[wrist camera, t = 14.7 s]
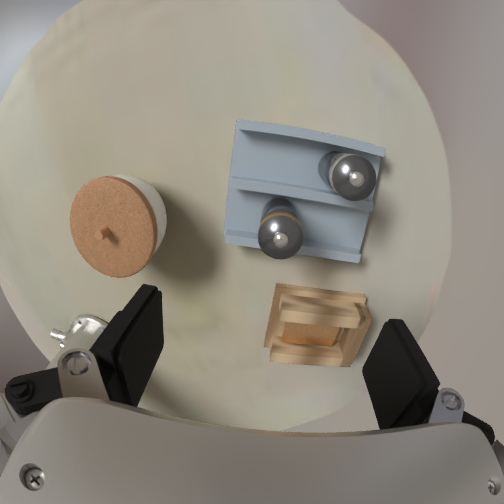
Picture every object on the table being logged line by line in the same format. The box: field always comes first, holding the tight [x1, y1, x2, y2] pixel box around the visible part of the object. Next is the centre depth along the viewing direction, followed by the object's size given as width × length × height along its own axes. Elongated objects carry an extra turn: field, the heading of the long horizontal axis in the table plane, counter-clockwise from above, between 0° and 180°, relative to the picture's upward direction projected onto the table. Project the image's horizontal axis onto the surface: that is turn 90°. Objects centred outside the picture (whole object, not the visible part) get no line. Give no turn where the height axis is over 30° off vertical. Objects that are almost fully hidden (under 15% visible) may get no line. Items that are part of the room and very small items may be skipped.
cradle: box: [264, 283, 372, 367], centre depth 34 cm, size 12×10×4 cm
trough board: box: [223, 119, 386, 263], centre depth 28 cm, size 16×13×3 cm
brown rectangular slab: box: [282, 322, 339, 347], centre depth 34 cm, size 7×5×1 cm, turn 83°
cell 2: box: [318, 151, 377, 201], centre depth 24 cm, size 4×4×8 cm
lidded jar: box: [70, 174, 167, 278], centre depth 28 cm, size 11×11×9 cm
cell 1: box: [258, 198, 303, 259], centre depth 26 cm, size 4×4×8 cm
